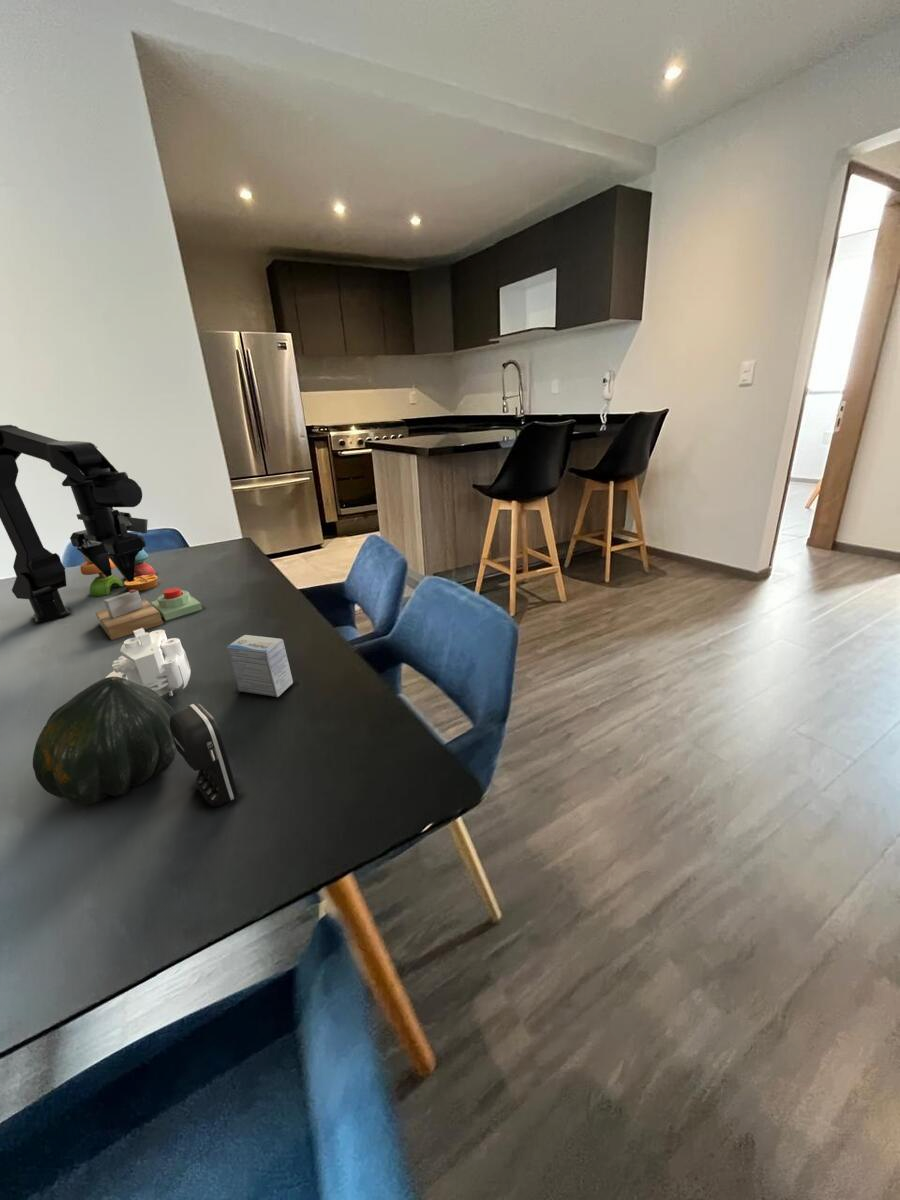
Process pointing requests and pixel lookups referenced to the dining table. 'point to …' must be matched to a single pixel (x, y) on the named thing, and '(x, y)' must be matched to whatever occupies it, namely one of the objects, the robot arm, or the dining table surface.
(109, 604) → the grey block
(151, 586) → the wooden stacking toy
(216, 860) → the dining table surface
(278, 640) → the medicine box
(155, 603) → the box
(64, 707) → the squash
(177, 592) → the button
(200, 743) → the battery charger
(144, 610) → the block
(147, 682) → the mechanical part
